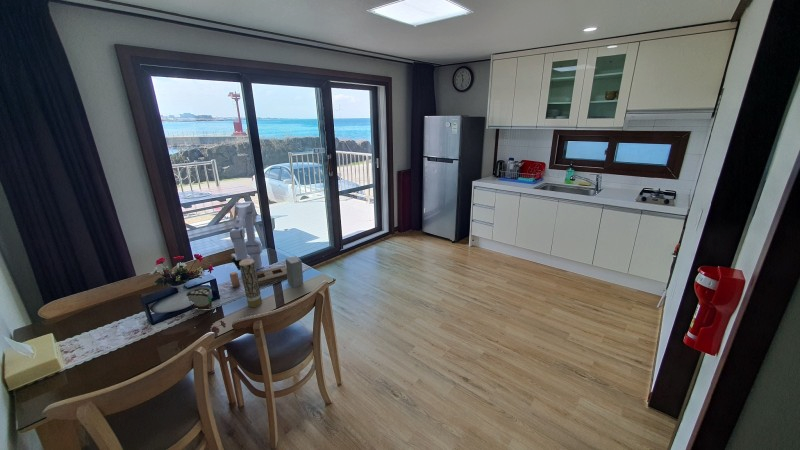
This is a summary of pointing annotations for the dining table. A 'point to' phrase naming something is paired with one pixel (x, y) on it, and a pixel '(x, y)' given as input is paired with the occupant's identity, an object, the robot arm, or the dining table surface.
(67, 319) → the dining table surface
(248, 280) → the paper tube
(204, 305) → the food container
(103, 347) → the dining table surface
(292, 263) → the skincare box
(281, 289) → the dining table surface
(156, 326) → the dining table surface
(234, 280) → the pin
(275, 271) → the bore board
